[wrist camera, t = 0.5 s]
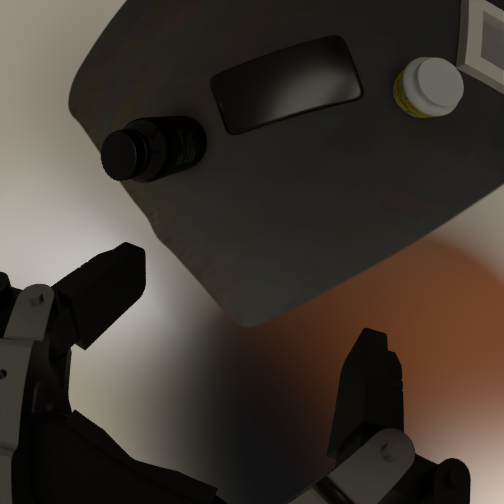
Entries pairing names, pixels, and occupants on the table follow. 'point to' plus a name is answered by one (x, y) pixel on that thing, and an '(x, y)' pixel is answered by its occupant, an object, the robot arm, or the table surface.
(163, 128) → the supplement bottle
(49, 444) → the robot arm
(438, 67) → the supplement bottle
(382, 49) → the table surface
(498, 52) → the socket plate
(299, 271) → the table surface
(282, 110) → the smartphone
